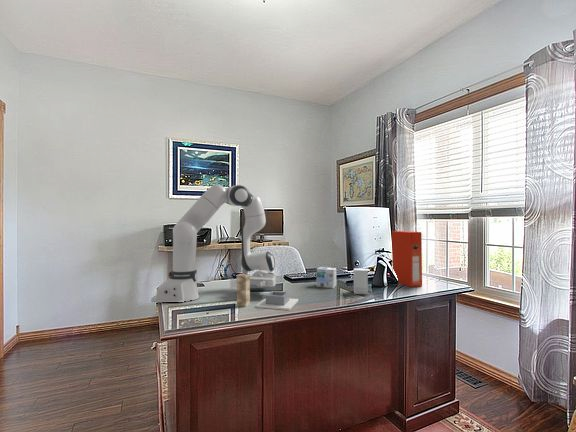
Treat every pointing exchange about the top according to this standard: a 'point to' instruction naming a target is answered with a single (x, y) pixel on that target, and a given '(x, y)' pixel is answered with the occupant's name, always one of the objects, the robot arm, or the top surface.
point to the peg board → (277, 301)
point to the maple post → (243, 290)
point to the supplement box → (360, 281)
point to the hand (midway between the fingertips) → (250, 284)
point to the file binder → (407, 257)
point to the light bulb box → (326, 277)
